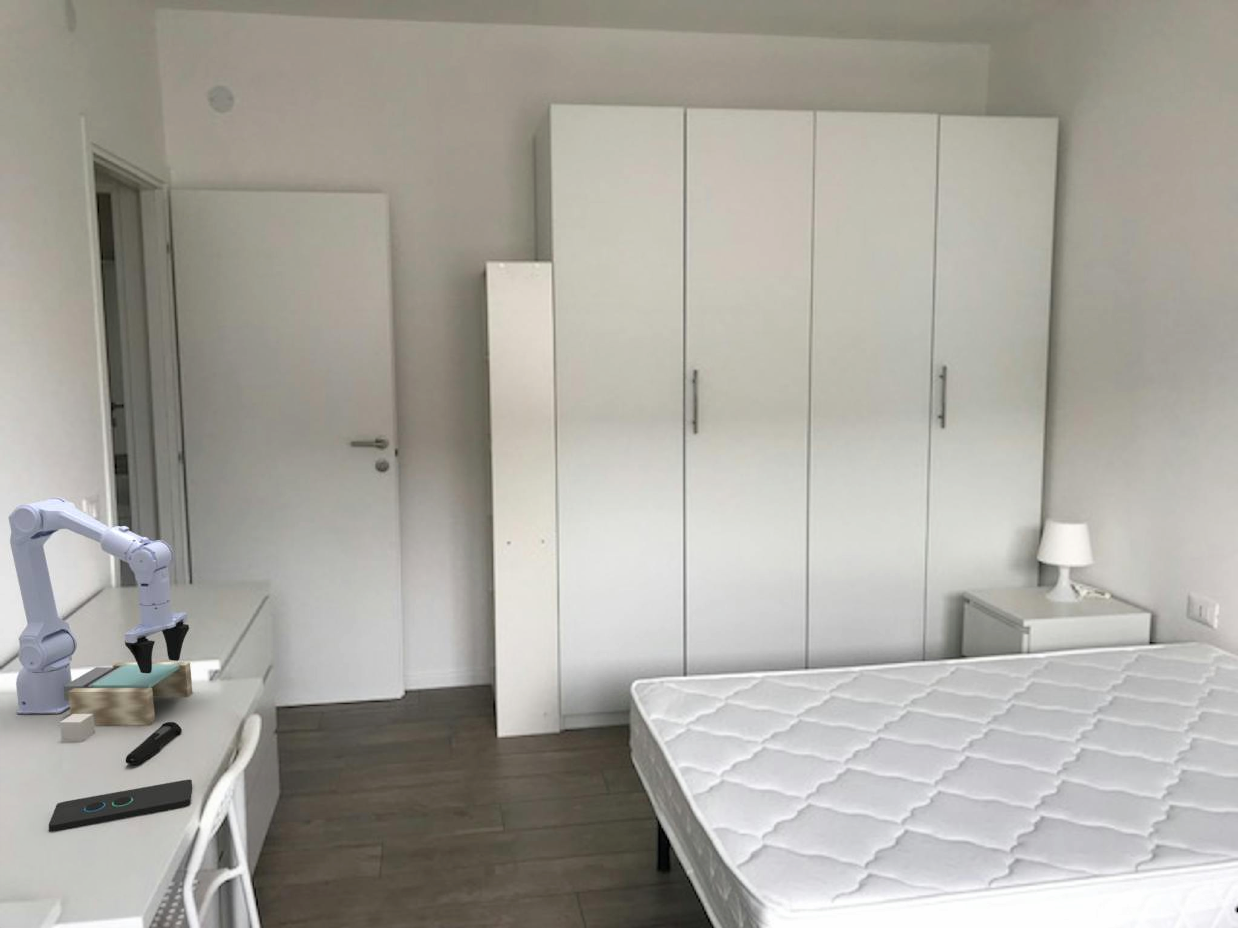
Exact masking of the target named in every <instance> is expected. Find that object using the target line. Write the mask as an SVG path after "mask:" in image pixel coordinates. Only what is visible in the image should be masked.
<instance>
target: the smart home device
mask: <svg viewBox="0 0 1238 928" xmlns="http://www.w3.org/2000/svg"><path fill="white" fill-rule="evenodd" d="M192 789H193V780H192V779H183V780H178V781H173V782H171V781H170V782H167V783H161V784H160V783H159V784H154V785H149V786H144V787H139V788H137V787H136V788H133V789H127V790H121V791H116V792H110V793H103V794H99V795H92V796H88V797H82V798H77V799H71V800H66V801H61V802H58V803H56V805H55V808H54V810H53V813H52V816H51V818H50V820H49V821H48V822H49V823H48V831H49V832H51V833H53V832H58V831H59V832H60V831H64V830H69V829H75V828H81V827H86V826H91V825H97V824H102V823H108V822H112V821H118V820H122V819H123V820H124V819H129V818H133V817H140V816H143V815H149V814H155V813H160V812H165V811H173V810H176V809H181V808H187V807H188V806H190V805H191V803H192V802H191V799H192V792H193V791H192Z"/></svg>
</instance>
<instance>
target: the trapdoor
mask: <svg viewBox="0 0 1238 928" xmlns="http://www.w3.org/2000/svg"><path fill="white" fill-rule="evenodd" d="M179 668H180V665H179V664H153V665H152V671H151V673H141V672H140V669H139V666H138V665H126V664H124V665H122V666H120V667H119V668H117V669H115V668H114V667H113V666H112V667H111V666H107V667H105V666H99V667H98V666H97V667H94V668H93V669H91V670H89V671H87V672H86V673H83V674H82V675H80V676H79V677H77V678H75V679H74V680H72V682H70V683H68V684H66V685H65V686H63V689H64V699H65V700H69V695H68V692H69V691H70V690H72V689H74V688H151V687H152V686H154V685H155V684H157V683H158V682H160V681H161V680H163V679H164V678H166V677H167V676H169V675H170V674H172V673H173V672H175V671H176V670H177V669H179Z"/></svg>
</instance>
